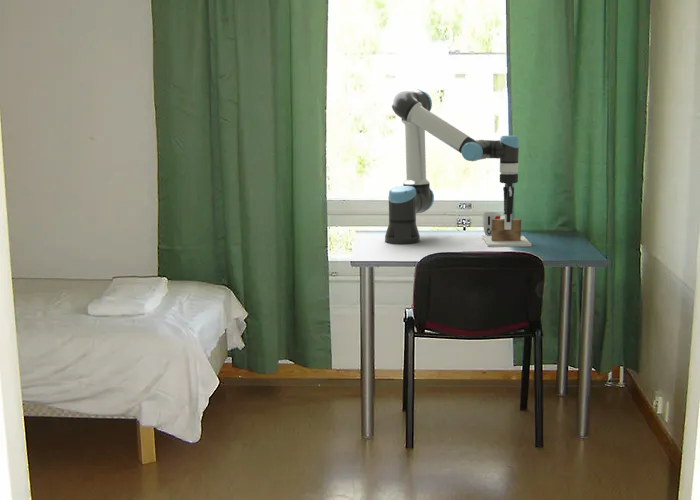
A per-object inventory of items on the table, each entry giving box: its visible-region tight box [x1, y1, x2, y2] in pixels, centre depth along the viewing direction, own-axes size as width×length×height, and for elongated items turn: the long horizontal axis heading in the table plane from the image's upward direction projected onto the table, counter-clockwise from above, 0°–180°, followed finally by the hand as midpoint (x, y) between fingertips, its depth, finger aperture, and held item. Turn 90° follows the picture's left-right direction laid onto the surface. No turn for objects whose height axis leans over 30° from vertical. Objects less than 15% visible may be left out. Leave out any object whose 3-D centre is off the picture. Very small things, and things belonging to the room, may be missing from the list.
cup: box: [481, 211, 502, 236], centre depth 382 cm, size 8×8×10 cm
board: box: [491, 218, 522, 241], centre depth 363 cm, size 12×3×9 cm, turn 88°
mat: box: [481, 235, 533, 248], centre depth 365 cm, size 18×20×1 cm
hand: (507, 229), depth 359 cm, fingers closed
